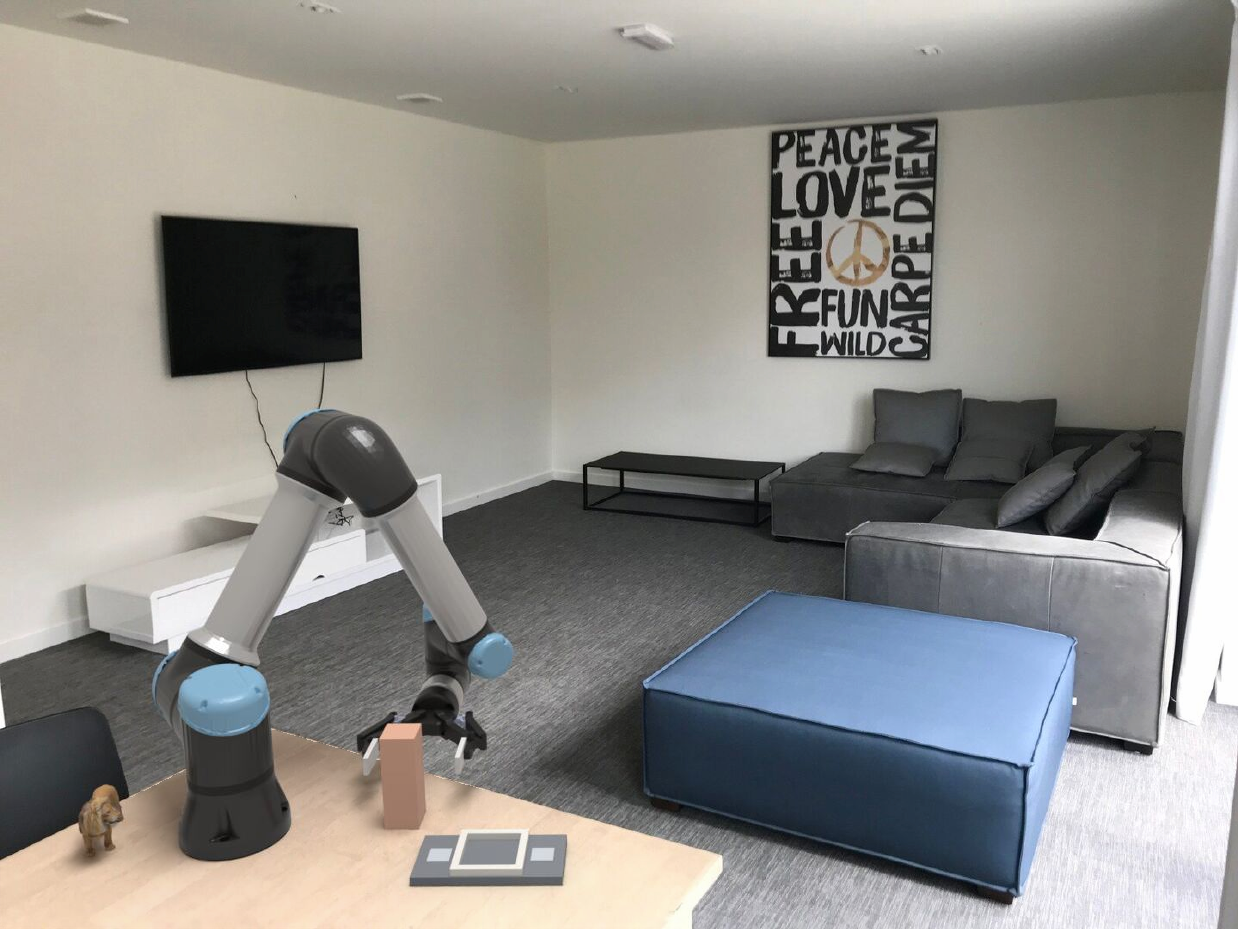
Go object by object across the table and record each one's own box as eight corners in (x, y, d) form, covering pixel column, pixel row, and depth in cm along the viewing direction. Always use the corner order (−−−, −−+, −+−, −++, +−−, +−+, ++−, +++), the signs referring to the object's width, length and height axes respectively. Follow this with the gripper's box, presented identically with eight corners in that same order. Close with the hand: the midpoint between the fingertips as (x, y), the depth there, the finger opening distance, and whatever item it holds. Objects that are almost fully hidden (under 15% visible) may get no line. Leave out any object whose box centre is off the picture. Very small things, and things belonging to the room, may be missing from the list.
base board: (409, 886, 129) (409, 870, 129) (425, 843, 139) (424, 828, 138) (562, 885, 129) (562, 869, 128) (567, 842, 139) (566, 828, 138)
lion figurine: (125, 861, 135) (118, 800, 134) (81, 871, 133) (74, 810, 131) (124, 811, 148) (118, 755, 147) (84, 820, 146) (77, 763, 144)
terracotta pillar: (384, 829, 142) (379, 739, 140) (392, 811, 147) (387, 723, 145) (419, 829, 142) (414, 739, 140) (426, 810, 147) (421, 723, 145)
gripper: (511, 725, 167) (496, 789, 146) (365, 727, 167) (328, 790, 146) (510, 684, 166) (494, 742, 145) (362, 685, 166) (325, 743, 145)
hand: (411, 766), depth 146 cm, fingers open, 13 cm apart
